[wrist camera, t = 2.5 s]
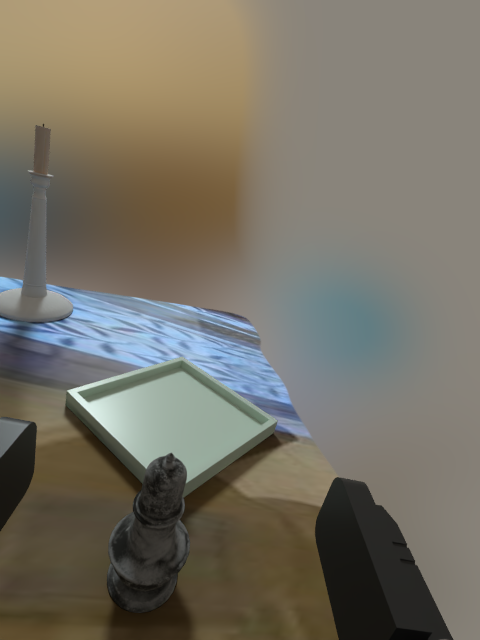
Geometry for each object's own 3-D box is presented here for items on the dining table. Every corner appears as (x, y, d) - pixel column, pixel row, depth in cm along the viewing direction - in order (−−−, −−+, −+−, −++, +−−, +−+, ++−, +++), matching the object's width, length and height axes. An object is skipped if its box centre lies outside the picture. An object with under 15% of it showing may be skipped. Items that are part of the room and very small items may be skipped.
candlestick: (55, 292, 73) (67, 130, 63) (85, 317, 66) (104, 140, 55) (-21, 295, 63) (-21, 106, 53) (5, 326, 56) (10, 113, 46)
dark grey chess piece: (196, 573, 29) (232, 457, 25) (138, 638, 24) (171, 507, 20) (146, 525, 32) (171, 413, 27) (85, 575, 27) (104, 448, 23)
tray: (167, 509, 33) (171, 493, 33) (65, 404, 43) (66, 390, 42) (273, 433, 48) (277, 420, 47) (179, 367, 58) (182, 356, 57)
